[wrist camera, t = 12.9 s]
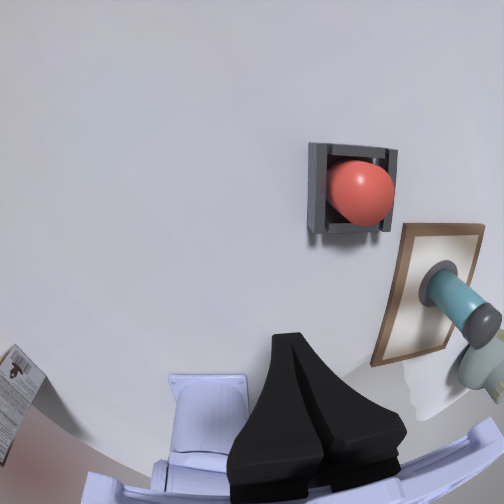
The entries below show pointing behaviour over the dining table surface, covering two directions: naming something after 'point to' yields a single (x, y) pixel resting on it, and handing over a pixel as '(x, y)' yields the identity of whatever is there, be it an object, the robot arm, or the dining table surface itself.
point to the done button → (359, 191)
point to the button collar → (318, 186)
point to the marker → (464, 308)
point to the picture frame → (424, 288)
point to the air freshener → (485, 368)
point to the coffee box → (15, 394)
